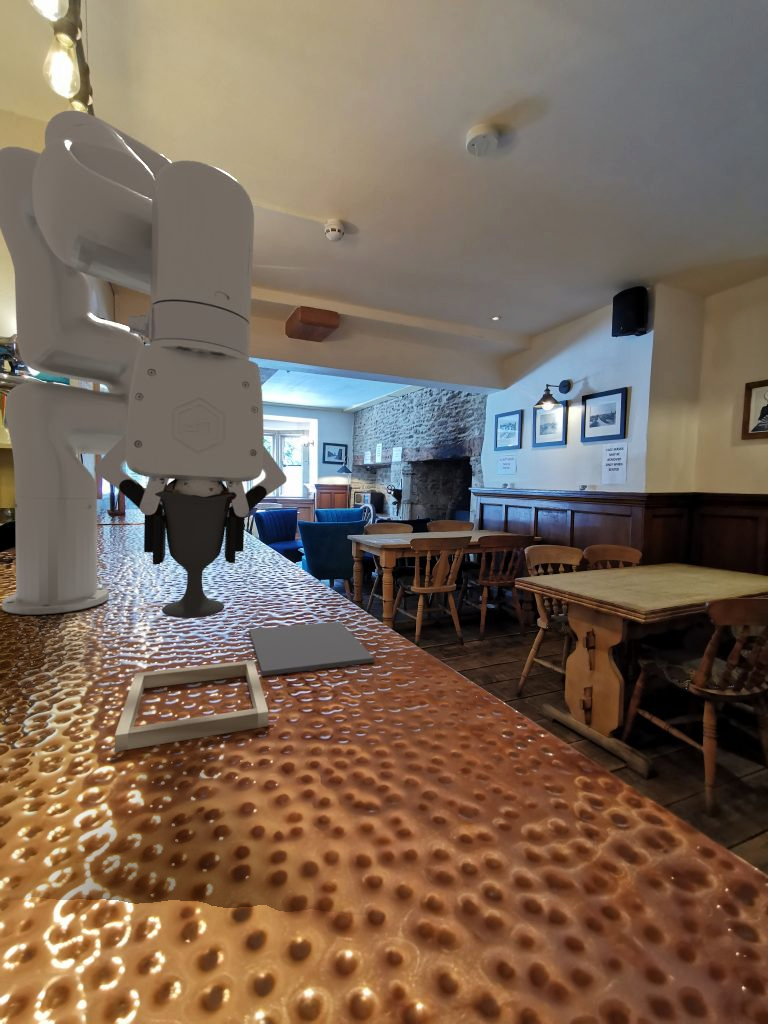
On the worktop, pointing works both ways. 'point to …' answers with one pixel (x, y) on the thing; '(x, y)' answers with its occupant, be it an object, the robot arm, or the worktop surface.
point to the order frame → (190, 727)
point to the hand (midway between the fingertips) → (195, 558)
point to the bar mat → (306, 648)
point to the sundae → (195, 538)
